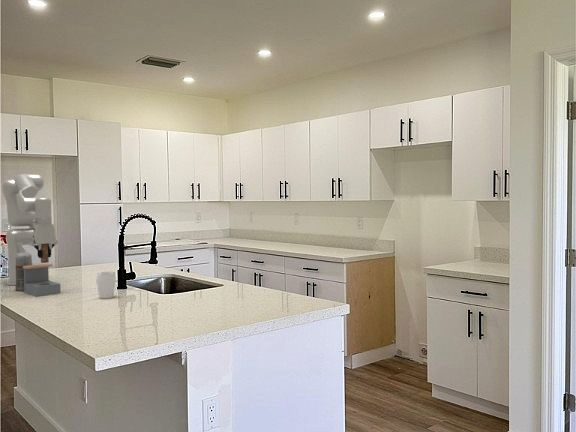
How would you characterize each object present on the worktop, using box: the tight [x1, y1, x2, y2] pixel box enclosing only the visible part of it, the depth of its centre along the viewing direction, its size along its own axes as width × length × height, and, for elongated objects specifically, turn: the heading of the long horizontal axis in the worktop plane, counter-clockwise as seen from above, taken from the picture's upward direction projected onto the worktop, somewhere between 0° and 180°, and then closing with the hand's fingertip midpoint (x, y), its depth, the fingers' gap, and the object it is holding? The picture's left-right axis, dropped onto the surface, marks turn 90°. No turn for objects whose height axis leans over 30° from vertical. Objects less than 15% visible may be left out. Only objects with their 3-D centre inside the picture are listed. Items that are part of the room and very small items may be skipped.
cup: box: [95, 271, 117, 299], centre depth 255 cm, size 9×9×12 cm
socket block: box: [23, 263, 61, 298], centre depth 267 cm, size 16×13×14 cm
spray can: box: [15, 251, 33, 292], centre depth 276 cm, size 8×8×20 cm
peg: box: [40, 244, 50, 264], centre depth 264 cm, size 4×4×12 cm
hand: (44, 257), depth 264 cm, fingers closed on peg, 3 cm apart
